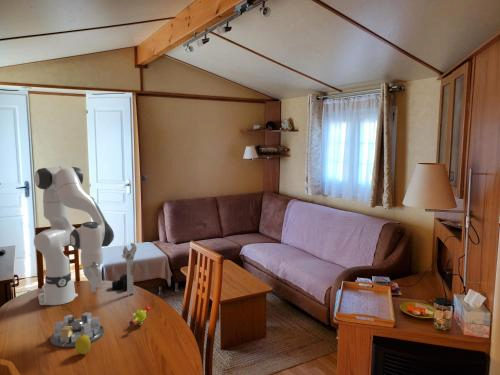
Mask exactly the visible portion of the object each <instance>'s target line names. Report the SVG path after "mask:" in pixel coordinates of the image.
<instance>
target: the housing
mask: <svg viewBox="0 0 500 375" xmlns="http://www.w3.org/2000/svg"><path fill="white" fill-rule="evenodd" d="M82 324H84V321H83V320H75V321H73V322H71V326H73V333H75V332H81V328H80V325H82ZM104 333H105V332H104V327H103V325H101V324H100V331H99V333H98V334H97V335H96V336H93V338H90V342H91V344H92V343H94V342H97V340H99V339H101V337H102V336H103V335H104ZM49 339H50V344H51V345H52V346H54V347H56V348H63V349H69V348H71V349H72V348H73V349H74V348H75V343H76V342H75V343H71V342H70V343H60V342H58V341H56V340H55V339H54V332H53V334H51V335H50V338H49Z"/></svg>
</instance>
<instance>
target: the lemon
mask: <svg viewBox="0 0 500 375" xmlns="http://www.w3.org/2000/svg"><path fill="white" fill-rule="evenodd" d="M91 344H92V343H91V342H90V339H89V337H88V336H86V335H81V336H79V337H78V338H77V340H76V343H75V347H74V348H75V351H76V352H77V353H78V354H80V355H83V356H84V355H85V354H86V353H89V352H88V351H90V349H91V347H92V345H91Z"/></svg>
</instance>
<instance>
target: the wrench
mask: <svg viewBox="0 0 500 375" xmlns="http://www.w3.org/2000/svg"><path fill="white" fill-rule="evenodd" d="M129 244H130V246H131V247H130V249H128V247H127V246H126V245H124V247H123V250H122V255H121V258H122V259H125V261H126V274H127V291H126V292H127V293H126V295H127V297H130V295H131V294H132V295H134V291H135V290H134V267H133V266H134V265H133V261H134V258H135V254H136V253H137V245H136V244H135V243H134V242H129Z"/></svg>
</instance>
